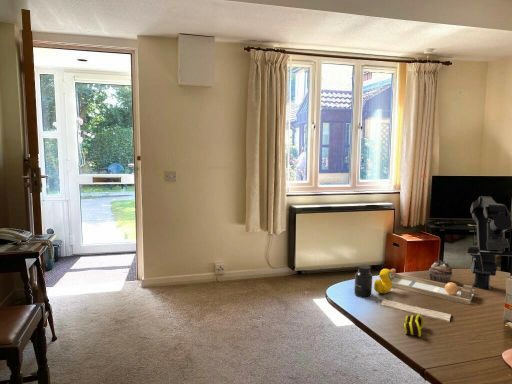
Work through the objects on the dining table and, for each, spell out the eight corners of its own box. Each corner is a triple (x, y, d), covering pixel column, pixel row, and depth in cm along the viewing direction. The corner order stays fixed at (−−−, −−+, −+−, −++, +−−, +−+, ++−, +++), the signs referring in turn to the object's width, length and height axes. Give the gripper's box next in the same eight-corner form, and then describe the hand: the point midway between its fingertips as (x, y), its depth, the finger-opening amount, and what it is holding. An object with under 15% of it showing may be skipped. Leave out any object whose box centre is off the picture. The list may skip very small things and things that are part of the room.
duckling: (386, 287, 159) (387, 265, 158) (397, 291, 155) (398, 268, 153) (370, 293, 152) (371, 270, 151) (381, 297, 148) (382, 273, 147)
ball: (445, 291, 155) (446, 279, 154) (458, 293, 152) (459, 282, 151) (443, 294, 151) (444, 283, 150) (456, 297, 148) (457, 285, 147)
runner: (395, 278, 171) (395, 277, 171) (473, 295, 152) (473, 294, 152) (386, 285, 161) (387, 284, 161) (469, 304, 142) (469, 303, 142)
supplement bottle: (353, 296, 149) (354, 268, 147) (355, 290, 155) (356, 263, 154) (370, 299, 146) (372, 270, 145) (372, 293, 153) (373, 265, 151)
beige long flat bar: (380, 307, 140) (380, 302, 140) (385, 301, 146) (385, 296, 146) (449, 324, 127) (449, 319, 127) (451, 316, 133) (451, 311, 133)
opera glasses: (408, 325, 126) (405, 311, 126) (424, 326, 124) (422, 312, 123) (404, 338, 118) (401, 323, 118) (421, 339, 115) (419, 323, 115)
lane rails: (392, 276, 173) (392, 268, 172) (473, 294, 152) (474, 285, 152) (382, 285, 162) (382, 276, 161) (469, 305, 141) (470, 295, 141)
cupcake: (452, 280, 168) (453, 259, 167) (450, 287, 160) (452, 265, 159) (429, 276, 173) (430, 256, 172) (426, 282, 165) (428, 261, 164)
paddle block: (463, 293, 152) (464, 284, 152) (471, 295, 150) (472, 286, 150) (460, 299, 146) (461, 290, 145) (468, 301, 144) (469, 292, 143)
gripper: (465, 230, 143) (465, 270, 139) (524, 231, 131) (526, 275, 127) (469, 235, 151) (469, 273, 147) (525, 237, 140) (526, 278, 136)
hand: (496, 275), depth 139 cm, fingers open, 9 cm apart
